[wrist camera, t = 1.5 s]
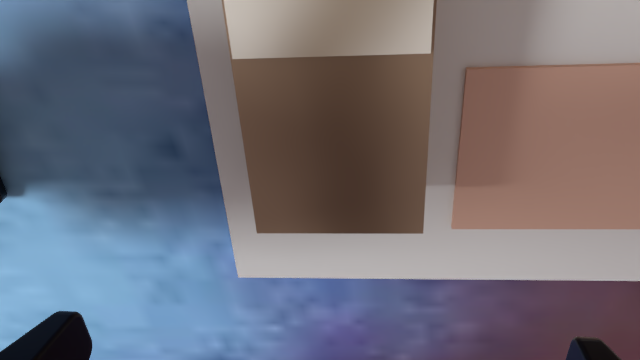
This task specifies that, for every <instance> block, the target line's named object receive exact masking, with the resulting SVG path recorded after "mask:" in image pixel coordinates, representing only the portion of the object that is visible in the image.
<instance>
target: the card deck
mask: <svg viewBox="0 0 640 360" xmlns="http://www.w3.org/2000/svg"><path fill="white" fill-rule="evenodd" d="M436 5H437V0H222V7H223V13H224V20H225V27H226V33H227V40H228V46H229V53H230V60H231V66H232V73H233V79H234V86H235V93H236V99H237V106H238V112H239V119H240V125H241V132H242V139H243V145H244V152H245V158H246V165H247V172H248V178H249V185H250V191H251V198H252V205H253V211H254V218H255V224H256V231H257V233H333V234H423V228H424V211H425V194H426V176H427V159H428V142H429V125H430V108H431V91H432V74H433V57H434V40H435V22H436Z"/></svg>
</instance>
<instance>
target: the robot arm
mask: <svg viewBox="0 0 640 360" xmlns="http://www.w3.org/2000/svg"><path fill="white" fill-rule="evenodd" d="M6 196H7V192H6V189H5V186H4V184H3V182H2V180H1V177H0V203H1V202H2V201H3V200H4V199H5V198H6ZM91 351H92V340H91V337H90V335H89V332H88V330H87V327H86V325H85V322H84V320H83V317H82V315H81V314H79V313H78V312H70V311H59V312H56V313H54V314H52V315H51V316H50V317H48V318H47V319H45V320H44V321H43V322H41V323H40V324H38V325H37V326H36V327H34V328H33V329H32V330H30V331H29V332H27V333H26V334H25V335H23V336H22V337H20V338H19V339H18V340H16V341H15V342H13V343H12V344H11V345H9V346H8V347H6V348H5V349H4V350H2V351H1V352H0V360H89V358H90V355H91ZM566 360H621V359H620V358H619V357H618V356H617V355H616V354H615V353H614V352H613V351H612V350H611V349H610V348H609V347H608V346H607V345H606V344H605V343H604V342H603V341H602V340H600V339H598V338H594V337H575V338H574V339H573V340H572V342H571V344H570V348H569V351H568V354H567V357H566Z"/></svg>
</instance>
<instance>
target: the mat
mask: <svg viewBox="0 0 640 360" xmlns="http://www.w3.org/2000/svg"><path fill="white" fill-rule="evenodd" d="M187 4H188V10H189V15H190V20H191V26H192V31H193V36H194V42H195V47H196V53H197V58H198V63H199V69H200V74H201V80H202V85H203V90H204V96H205V101H206V107H207V112H208V117H209V123H210V128H211V133H212V139H213V144H214V150H215V155H216V160H217V166H218V171H219V177H220V182H221V187H222V193H223V198H224V203H225V209H226V214H227V220H228V225H229V230H230V236H231V241H232V247H233V252H234V257H235V263H236V268H237V273H238V277H246V278H359V279H472V280H586V281H640V0H437V5H436V22H435V40H434V57H433V74H432V91H431V108H430V125H429V142H428V159H427V176H426V194H425V211H424V228H423V234H333V233H257V231H256V224H255V218H254V211H253V205H252V198H251V191H250V185H249V178H248V172H247V165H246V158H245V152H244V145H243V139H242V132H241V125H240V119H239V112H238V106H237V99H236V93H235V86H234V79H233V73H232V66H231V60H230V53H229V46H228V40H227V33H226V27H225V20H224V13H223V7H222V0H187Z"/></svg>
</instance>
